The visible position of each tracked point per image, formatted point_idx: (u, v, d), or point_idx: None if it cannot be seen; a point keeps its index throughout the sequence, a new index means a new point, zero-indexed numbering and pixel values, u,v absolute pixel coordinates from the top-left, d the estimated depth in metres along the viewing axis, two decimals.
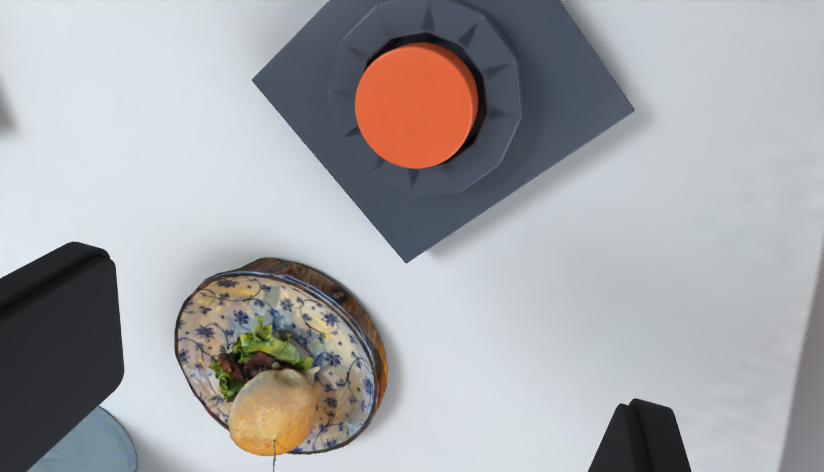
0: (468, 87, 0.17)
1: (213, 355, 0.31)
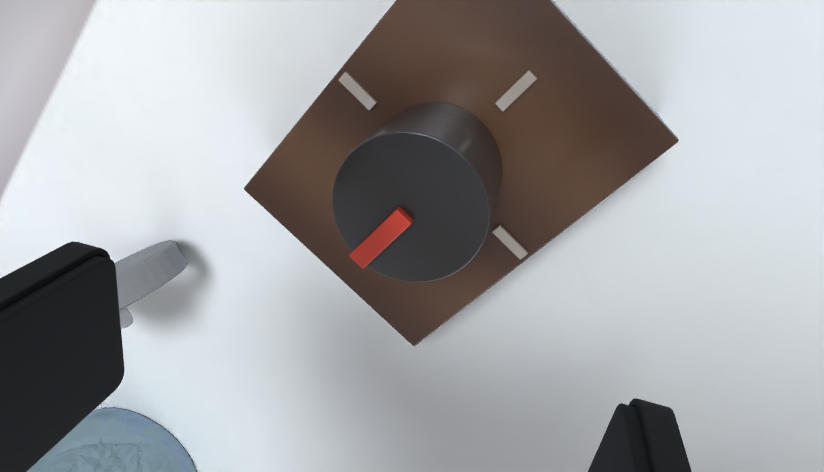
0: None
1: None
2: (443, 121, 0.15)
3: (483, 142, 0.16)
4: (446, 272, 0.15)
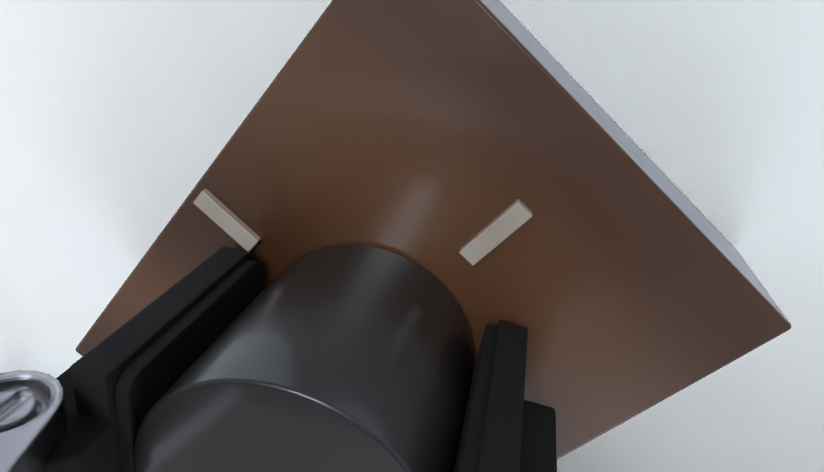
0: None
1: None
2: (352, 318, 0.08)
3: (434, 341, 0.09)
4: None
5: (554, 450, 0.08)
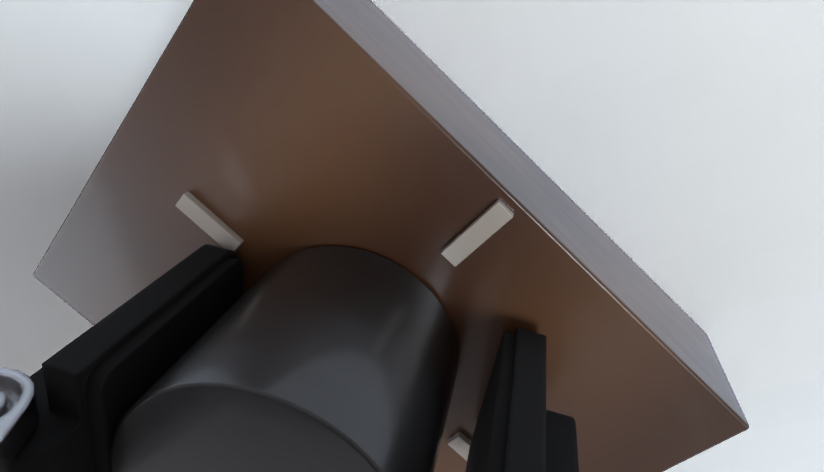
0: None
1: None
2: (327, 320, 0.08)
3: (413, 341, 0.09)
4: None
5: (576, 461, 0.08)
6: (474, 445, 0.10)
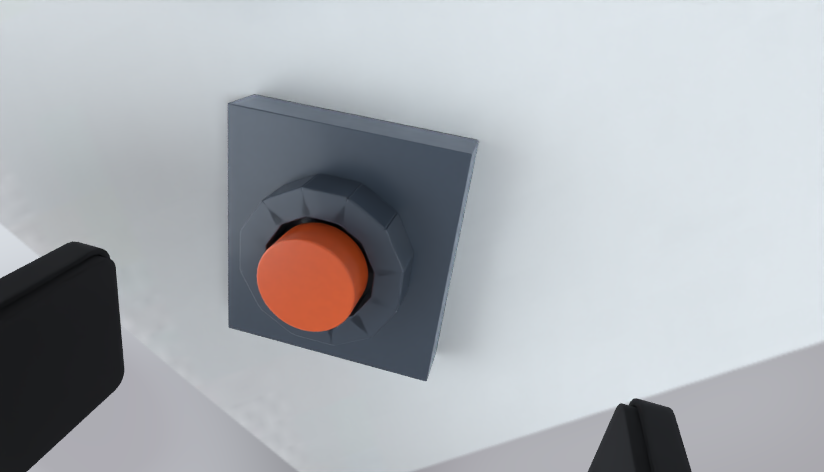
0: (289, 324, 0.22)
1: None
2: None
3: None
4: None
5: None
6: None
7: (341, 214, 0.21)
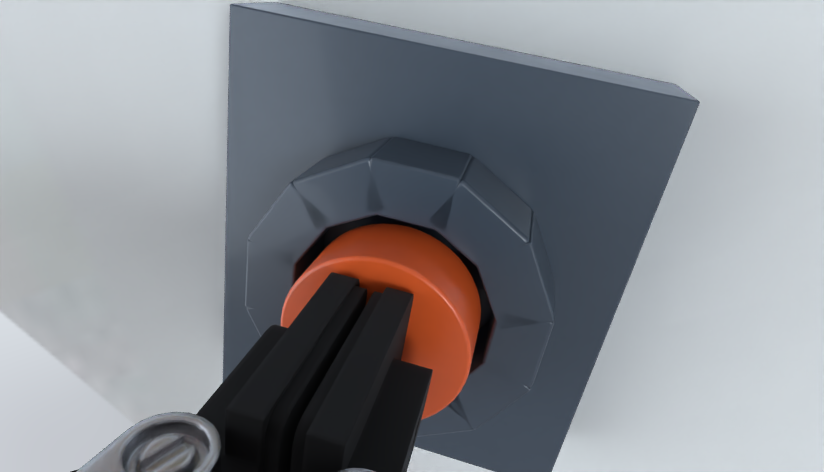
0: None
1: None
2: None
3: None
4: None
5: (419, 405, 0.08)
6: None
7: (444, 212, 0.11)
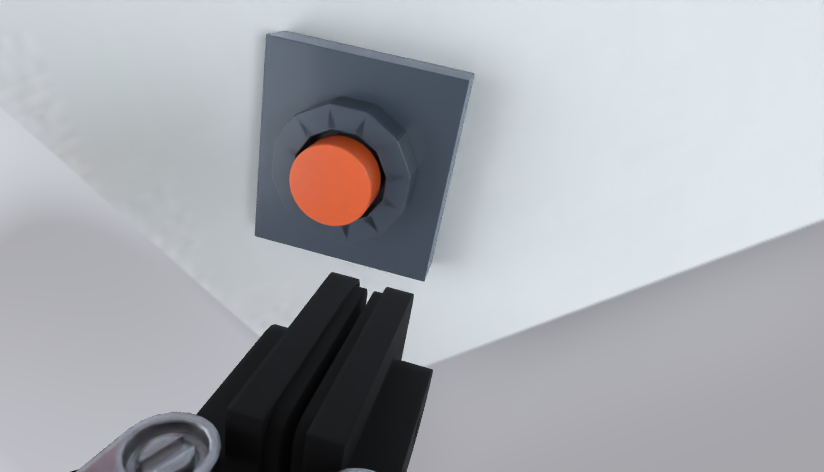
0: (314, 219, 0.26)
1: None
2: None
3: None
4: None
5: (419, 405, 0.08)
6: None
7: (361, 127, 0.25)
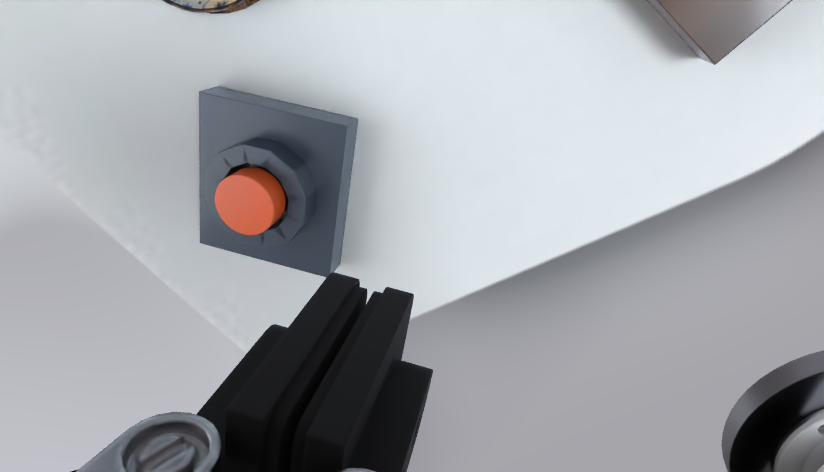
0: (235, 230, 0.35)
1: None
2: None
3: None
4: None
5: (419, 405, 0.08)
6: None
7: (267, 161, 0.34)
